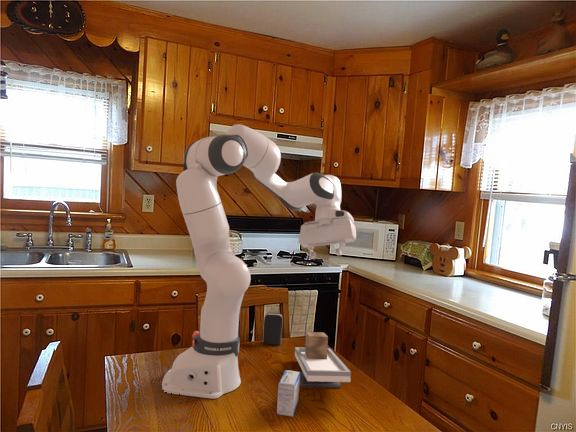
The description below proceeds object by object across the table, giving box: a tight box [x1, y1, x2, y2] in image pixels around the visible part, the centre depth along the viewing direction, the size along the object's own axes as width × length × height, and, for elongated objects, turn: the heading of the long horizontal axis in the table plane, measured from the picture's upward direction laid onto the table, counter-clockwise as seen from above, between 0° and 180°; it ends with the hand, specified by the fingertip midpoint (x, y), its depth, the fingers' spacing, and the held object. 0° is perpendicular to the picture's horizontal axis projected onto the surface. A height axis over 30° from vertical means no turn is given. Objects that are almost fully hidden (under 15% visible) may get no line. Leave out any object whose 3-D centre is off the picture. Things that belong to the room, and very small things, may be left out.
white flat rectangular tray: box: [294, 346, 352, 383], centre depth 124 cm, size 12×28×3 cm, turn 5°
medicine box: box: [276, 369, 300, 417], centre depth 108 cm, size 8×4×9 cm, turn 168°
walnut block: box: [304, 331, 329, 359], centre depth 132 cm, size 6×7×7 cm
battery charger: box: [262, 312, 283, 346], centre depth 150 cm, size 7×4×11 cm, turn 91°
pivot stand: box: [297, 370, 342, 389], centre depth 124 cm, size 12×8×4 cm, turn 95°
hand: (325, 256), depth 134 cm, fingers open, 8 cm apart
